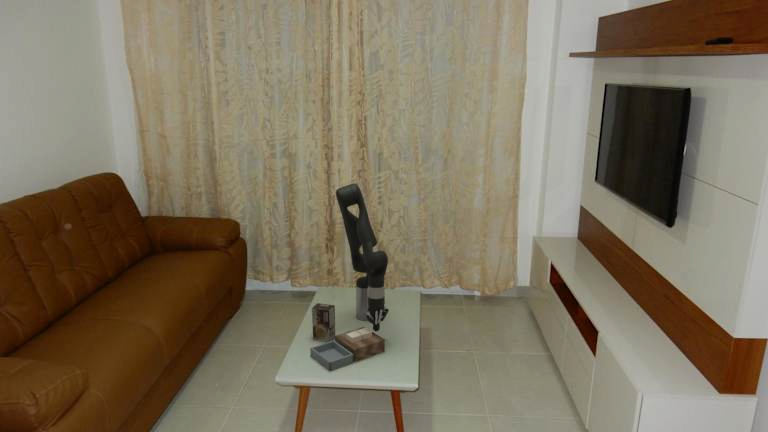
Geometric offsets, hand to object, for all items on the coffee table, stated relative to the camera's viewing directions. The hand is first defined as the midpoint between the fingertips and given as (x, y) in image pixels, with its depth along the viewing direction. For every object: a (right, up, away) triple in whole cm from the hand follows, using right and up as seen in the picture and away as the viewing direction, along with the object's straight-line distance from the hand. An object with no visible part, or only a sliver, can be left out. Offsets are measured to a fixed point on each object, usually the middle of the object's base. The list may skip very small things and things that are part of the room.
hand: (376, 330), depth 256 cm
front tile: (-10, -3, -7) cm, 12 cm away
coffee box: (-24, -5, +7) cm, 26 cm away
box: (-19, -10, -12) cm, 25 cm away
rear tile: (-5, -2, -4) cm, 7 cm away
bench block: (-7, -8, -4) cm, 11 cm away
